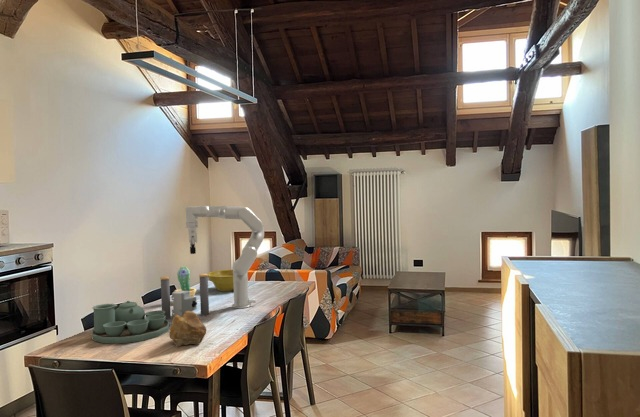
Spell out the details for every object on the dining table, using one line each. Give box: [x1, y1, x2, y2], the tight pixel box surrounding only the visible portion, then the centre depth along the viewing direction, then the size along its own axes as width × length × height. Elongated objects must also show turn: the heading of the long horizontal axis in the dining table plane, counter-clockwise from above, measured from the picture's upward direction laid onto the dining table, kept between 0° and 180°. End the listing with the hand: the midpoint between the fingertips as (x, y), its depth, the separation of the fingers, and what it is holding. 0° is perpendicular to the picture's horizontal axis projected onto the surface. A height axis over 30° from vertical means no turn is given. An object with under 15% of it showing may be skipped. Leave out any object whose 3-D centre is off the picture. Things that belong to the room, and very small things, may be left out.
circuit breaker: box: [171, 291, 198, 318], centre depth 291 cm, size 8×14×15 cm, turn 78°
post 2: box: [198, 273, 210, 316], centre depth 294 cm, size 5×5×25 cm
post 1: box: [160, 276, 172, 320], centre depth 288 cm, size 5×5×25 cm
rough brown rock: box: [169, 311, 207, 347], centre depth 237 cm, size 23×17×15 cm
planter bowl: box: [206, 269, 234, 292], centre depth 374 cm, size 32×32×13 cm
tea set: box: [91, 300, 171, 344], centre depth 258 cm, size 40×40×16 cm
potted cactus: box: [173, 265, 197, 297], centre depth 333 cm, size 15×15×25 cm
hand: (192, 253), depth 306 cm, fingers open, 4 cm apart
